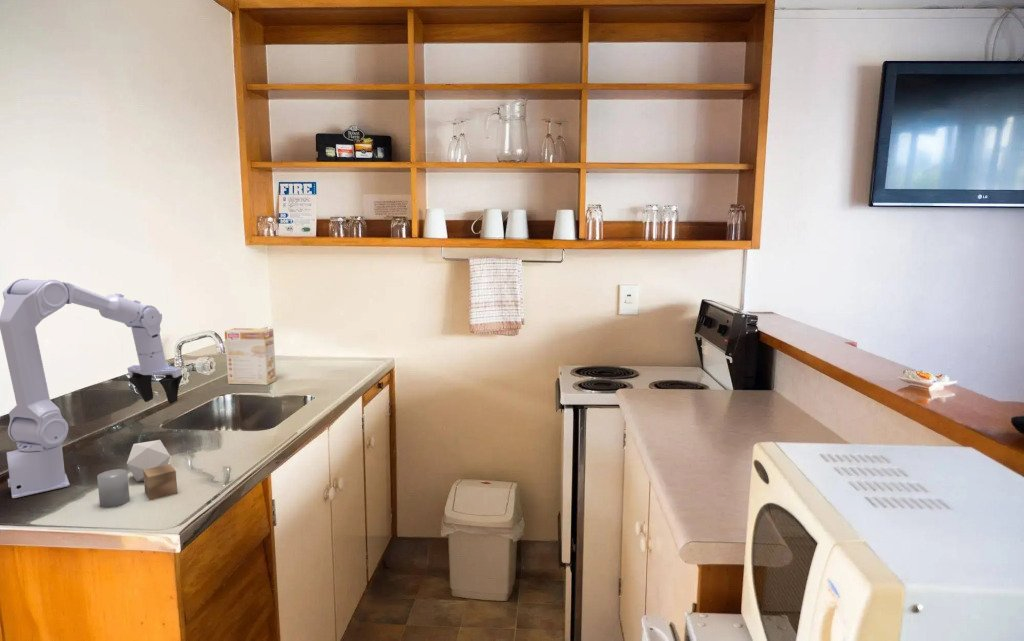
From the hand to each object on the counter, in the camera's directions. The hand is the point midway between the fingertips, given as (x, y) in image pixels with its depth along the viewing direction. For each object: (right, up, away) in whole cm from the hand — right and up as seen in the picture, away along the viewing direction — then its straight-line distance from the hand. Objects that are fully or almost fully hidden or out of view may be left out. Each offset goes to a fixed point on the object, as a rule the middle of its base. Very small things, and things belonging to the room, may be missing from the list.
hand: (161, 401), depth 155 cm
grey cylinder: (+11, -16, -35) cm, 39 cm away
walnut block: (+18, -15, -30) cm, 38 cm away
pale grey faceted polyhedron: (+10, -14, -22) cm, 28 cm away
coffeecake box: (-4, -2, +63) cm, 63 cm away
